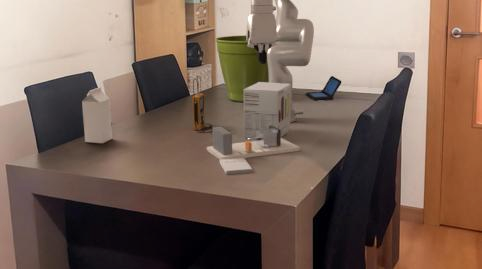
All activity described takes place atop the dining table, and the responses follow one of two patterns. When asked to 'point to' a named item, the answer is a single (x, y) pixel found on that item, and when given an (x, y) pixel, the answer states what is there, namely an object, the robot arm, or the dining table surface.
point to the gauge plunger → (267, 137)
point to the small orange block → (248, 146)
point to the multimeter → (198, 110)
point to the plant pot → (239, 65)
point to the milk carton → (97, 117)
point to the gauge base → (243, 146)
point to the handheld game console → (326, 90)
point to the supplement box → (266, 107)
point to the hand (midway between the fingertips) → (262, 63)
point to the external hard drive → (235, 166)
